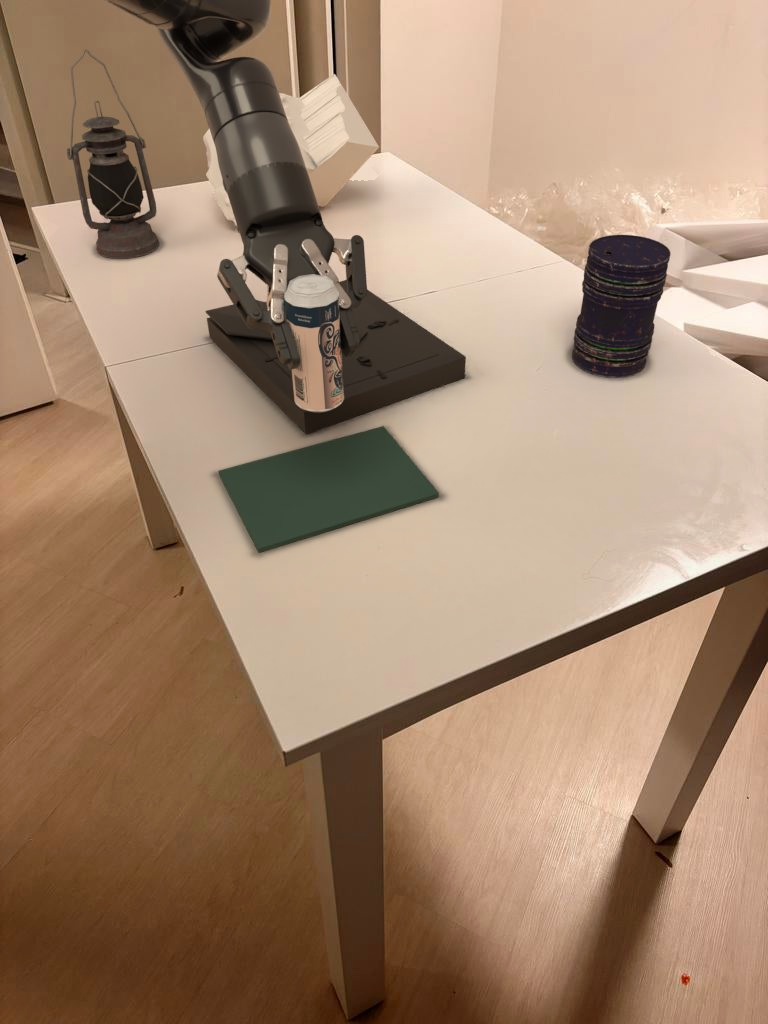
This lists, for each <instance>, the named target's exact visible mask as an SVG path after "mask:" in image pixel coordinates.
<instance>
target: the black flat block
mask: <svg viewBox="0 0 768 1024" xmlns="http://www.w3.org/2000/svg"><path fill="white" fill-rule="evenodd" d="M339 284H340V285H341V287H342V288H343V289H344V291H345V292H346V294H347V280H346V279H343V280H339ZM255 300H256V301H257V303H258V304H259V306H260V308H261V309H262V310H267V301H262V300H259V299H255ZM205 314H206V315H207V316H209V317H207V318H206V324H207V328H208V334H209V339H210V340H211V341H212V342H213V343H214V345H216V346H217V347H218V348H219V349H220V350H221V351H222V352H223V353H224V354H225V355H226V356H227V357H228V358H229V359H230V360H231V361H232V362H233V363H234V364H235V365H236V366H237V367H238V368H239V369H240V370H241V371H242V372H243V373H244V374H245V375H246V376H247V377H248V378H249V379H250V380H251V381H252V382H253V383H254V384H255V385H256V386H257V387H258V388H259V389H260V391H262V392H263V393H264V394H265V395H266V396H267V397H268V398H269V399H270V400H271V401H272V403H274V404H275V406H277V407H278V409H280V410H281V411H282V412H283V413H284V415H286V416H287V417H288V418H289V420H291V421H292V422H293V423H294V424H295V425H296V426H297V427H298V428H299V429H300V430H301V431H302V432H303V433H304V434H305V435H308V434H311V433H314V432H316V431H320V430H322V429H325V428H327V427H331V426H333V425H336V424H340V423H342V422H345V421H347V420H350V419H353V418H356V417H358V416H362V415H364V414H367V413H370V412H372V411H373V412H374V411H376V410H378V409H381V408H384V407H386V406H389V405H392V404H395V403H397V402H400V401H403V400H406V399H410V398H412V397H415V396H417V395H421V394H423V393H425V392H429V391H431V390H435V389H436V388H439V387H443V386H446V385H448V384H451V383H453V382H458V381H459V380H462V379H464V378H465V377H466V362H467V361H466V360H467V357H466V356H465V355H464V354H462V353H461V352H459V351H458V350H457V349H455V348H454V347H452V346H451V345H449V344H448V343H447V342H445V341H444V340H443V339H440V338H439V337H438V336H436V335H435V334H434V333H432V332H430V331H429V330H428V329H426V328H425V327H424V326H422V325H420V324H419V323H417V322H416V321H414V320H413V319H411V318H410V317H408V316H407V315H406V314H405V313H402V312H401V311H400V310H398V309H397V308H395V307H394V306H393V305H391V304H389V303H388V302H386V301H385V300H384V299H382V298H381V297H380V296H378V295H376V294H375V293H374V292H372V291H370V290H369V289H368V288H367V295H366V296H365V298H364V299H363V300H362V301H361V304H360V305H359V306H358V307H355V308H353V309H352V314H353V317H354V320H355V323H356V326H357V329H358V332H359V335H360V343H359V345H358V346H357V351H356V352H355V353H354V354H353V355H351V356H347V357H345V356H344V354H343V351H342V348H341V351H342V372H343V392H344V400H343V402H342V403H341V404H340V405H339V406H337V407H336V408H334V409H332V410H330V411H326V412H310V411H307V410H304V409H302V408H300V407H299V406H298V405H297V404H296V403H295V401H294V390H293V379H292V369H291V370H290V369H289V368H288V365H287V364H284V365H283V364H282V363H281V362H280V360H279V358H278V355H277V352H276V348H275V345H274V342H273V339H272V336H271V333H270V332H269V331H268V330H266V329H262V328H256V329H250V328H248V327H247V325H246V324H245V322H244V321H243V319H242V317H241V316H240V314H239V312H238V311H237V309H236V308H235V306H234V304H233V303H232V304H228V305H224V306H220V307H216V308H212V309H211V308H210V309H207V310H205ZM284 320H285V323H287V317H286V307H285V318H284Z"/></svg>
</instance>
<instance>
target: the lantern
mask: <svg viewBox="0 0 768 1024" xmlns="http://www.w3.org/2000/svg"><path fill="white" fill-rule="evenodd" d="M86 53H87V54H88V55H89V57H91V59H94V60H95V61H96V62H97V63H99V64H101V65H102V66H103V69H104V71H105V73H106V76H107V78H108V80H109V82H110V84H111V86H112V89H113V91H114V93H115V95H116V97H117V100H118V102H119V104H120V105H121V107H122V108H123V110H124V112H125V113H126V115H127V117H128V119H129V121H130V123H131V125H132V127H133V129H134V131H135V133H136V135H137V136H135V135H133V134H129V135H128V134H127V133H126V130H123V129H120V128H115V126H118V125H119V124H120V123H121V122H120V119H117V118H116V117H112V116H103V111H102V107H101V103H100V100H95V101H94V102H93V104H94V109H95V114H96V116H95V117H92V118H89V119H87V120H85V121H84V122H83V123H82V127H84V128H87V129H90V130H87V132H84V133H83V134H82V135H81V139H82V140H83V141H81V142H77V143H75V144H73V137H74V119H75V113H76V112H75V111H76V105H77V97H76V89H75V81H74V71H73V69H74V68H75V67H76V65H77V64H78V63H79V62H80V61H81V60H82V59H83V58H84V57H85V54H86ZM70 77H71V78H70V79H71V88H72V95H73V96H72V97H73V107H72V113H71V121H70V122H71V123H70V145H69V147H67V148H66V156H67V159H68V160H69V161H72V162H73V167H74V173H75V178H76V183H77V189H78V195H79V200H80V206H81V212H82V215H83V218H84V221H85V223H86V225H87V226H88V227H89V228H90V229H91V230H92V229H93V230H97V239H96V242H95V245H96V248H95V250H96V253H97V254H98V255H100V256H101V257H104V258H108V259H114V260H115V259H116V260H124V259H132V258H134V259H135V258H139V257H142V256H146V255H148V254H151V253H153V252H155V251H156V250H157V249H159V247H160V240H159V239H158V236H157V233H156V232H154V230H153V227H152V226H151V224H150V223H149V222H148V221H150V220H152V219H153V218H155V217H156V215H157V211H158V210H157V202H156V198H155V194H154V191H153V187H152V183H151V178H150V174H149V171H148V166H147V163H146V159H145V155H144V151H143V150H144V149H146V148H147V145H146V141H145V139H144V138H143V137H142V136H141V135H140V133H139V132H138V130H137V128H136V125H135V124H134V121H133V119H132V117H131V115H130V113H129V111H128V109H127V108H126V107H125V105H124V103H123V102H122V100H121V98H120V96H119V93H118V92H117V89H116V86H115V85H114V83H113V80H112V78H111V76H110V73H109V71H108V68H107V67H106V65H105V63H104V62H102V61H101V60H100V59H98V58H97V57H96V56H94V55H93V54H92V53H91V52H90V51H89V50H88V49H84V50H83V51H82V54H81V55H80V57H78V59H77V60H75V62H74V63H73V64H72V65H71V67H70ZM97 104H98V108H99V113H100V116H99V114H98V108H97ZM127 142H130V143H133V144H134V148H135V151H136V156H137V160H138V164H139V168H140V172H141V176H142V180H143V185H144V188H145V193H146V197H147V201H148V207H149V210H147V212H145V213H143V214H141V215H139V216H136V215H137V214H138V213H139V214H140V213H141V212H142V211H141V210H142V207H141V205H142V203H143V200H144V192H143V187H142V183H141V180H140V177H139V174H138V168H137V167H136V166H134V165H133V164H132V162H131V160H130V156H129V154H127V153H125V152H124V150H125V149H126V148H127V147H128V146H127ZM83 149H86V152H88V153H90V154H91V156H90V157H89V158H88V161H89V169H87V171H86V173H87V183H88V191H89V196H90V200H91V204H92V205H93V206H94V207H95V208H96V210H98V211H99V215H100V216H102V217H103V218H104V219H106V220H109V222H97V221H93V219H92V216H91V211H90V207H89V206H90V205H89V202H88V195H87V191H86V186H85V181H84V176H83V170H82V166H81V160H80V153H79V152H80V151H82V150H83Z"/></svg>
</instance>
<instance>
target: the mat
mask: <svg viewBox="0 0 768 1024" xmlns="http://www.w3.org/2000/svg"><path fill="white" fill-rule="evenodd" d="M218 476H219V478H220V480H221V482H222V483H223V486H224V488H225V490H226V491H227V493H228V495H229V497H230V500H231V502H232V503H233V505H234V507H235V510H236V511H237V513H238V515H239V517H240V519H241V521H242V523H243V525H244V527H245V529H246V531H247V533H248V535H249V537H250V539H251V541H252V543H253V545H254V546H255V549H256V551H257V553H262V552H266V551H269V550H273V549H276V548H279V547H282V546H286V545H288V544H292V543H294V542H298V541H302V540H304V539H308V538H311V537H314V536H317V535H321V534H324V533H327V532H330V531H333V530H338V529H340V528H343V527H346V526H350V525H353V524H357V523H359V522H363V521H366V520H370V519H373V518H376V517H378V516H382V515H385V514H389V513H393V512H395V511H399V510H402V509H405V508H408V507H411V506H415V505H418V504H421V503H424V502H428V501H430V500H434V499H437V498H440V491H438V489H436V487H435V486H434V485H433V484H432V483H431V481H430V480H429V479H428V478H427V477H426V475H425V474H424V472H422V470H420V468H419V467H418V466H417V465H416V464H415V462H414V461H413V460H412V459H411V457H410V456H409V454H407V453H406V451H405V450H404V449H403V448H402V447H401V445H400V444H399V443H398V442H397V441H396V439H395V438H394V437H393V436H392V434H390V433H389V431H388V430H387V429H386V428H385V426H384V425H382V426H379V427H374V428H371V429H368V430H363V431H360V432H357V433H352V434H348V435H345V436H341V437H338V438H333V439H331V440H327V441H322V442H319V443H316V444H312V445H308V446H305V447H300V448H297V449H294V450H290V451H286V452H282V453H277V454H275V455H271V456H268V457H264V458H260V459H257V460H253V461H250V462H245V463H242V464H238V465H234V466H231V467H227V468H223V469H219V470H218Z"/></svg>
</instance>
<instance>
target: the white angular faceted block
mask: <svg viewBox="0 0 768 1024" xmlns="http://www.w3.org/2000/svg"><path fill="white" fill-rule="evenodd" d="M341 83H342V82H341V81H340V80H339V78H338V76H337V75H336V74H335V73H333V74H332V75H330V76H329V77H327V78H326V79H324V80H323V81H321V82H320V83H319V84H317V85H316V86H314V87H313V88H311V89H310V90H308V91H307V92H306V93H304V94H303V95H302V96H300V97H297V96H293V95H289V94H287V93H283V92H282V93H281V92H279V94H280V98H281V101H282V104H283V107H284V110H285V113H286V116H287V120H288V122H289V125H290V127H291V130H292V132H293V134H294V136H295V138H296V140H297V142H298V145H299V148H300V150H301V153H302V157H303V160H304V163H305V166H306V169H307V172H308V175H309V178H310V182H311V185H312V188H313V191H314V194H315V197H316V200H317V203H318V206H319V207H326V206H327V205H328V204H329V203H330V202H331V201H332V199H333V198H334V197H336V195H337V194H338V193H339V192H340V191H341V190H342V189H343V188H344V186H345V185H347V183H348V182H349V181H350V180H351V179H352V178H353V177H354V176H355V175H356V173H357V172H358V171H359V170H360V169H361V168H362V167H363V166H364V164H366V163H367V161H369V159H370V158H371V157H372V156H373V155H374V154H375V152H377V151H378V149H379V148H380V146H379V144H378V142H377V141H376V140H375V138H374V136H373V134H372V133H371V131H370V129H369V128H368V126H367V125H366V123H365V122H364V120H363V118H362V117H361V115H360V113H359V111H358V109H357V108H356V107H355V105H354V103H353V101H352V100H351V98H350V96H349V95H348V93H347V91H346V90H345V88H344V86H343V85H342V84H341ZM202 141H203V144H204V146H205V149H206V152H205V154H206V159H207V168H208V169H207V172H206V173H205V176H206V178H207V180H208V181H209V183H210V185H211V186H212V188H213V189H214V191H213V192H212V193H211V195H212V197H213V198H214V200H215V202H216V203H217V205H218V207H219V209H220V210H221V212H222V214H223V215H224V217H225V219H226V220H227V221H230V222H231V223H234V225H235V226H236V227H238V226H237V223H236V220H235V217H234V214H233V210H232V207H231V204H230V201H229V198H228V195H227V193H226V191H225V189H224V186H223V179H222V176H221V172H220V168H219V164H218V158H217V152H216V148H215V144H214V141H213V138H212V135H211V132H210V129H209V128H208V130H207V131H206V132H205V133H204V135H203V136H202Z"/></svg>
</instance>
